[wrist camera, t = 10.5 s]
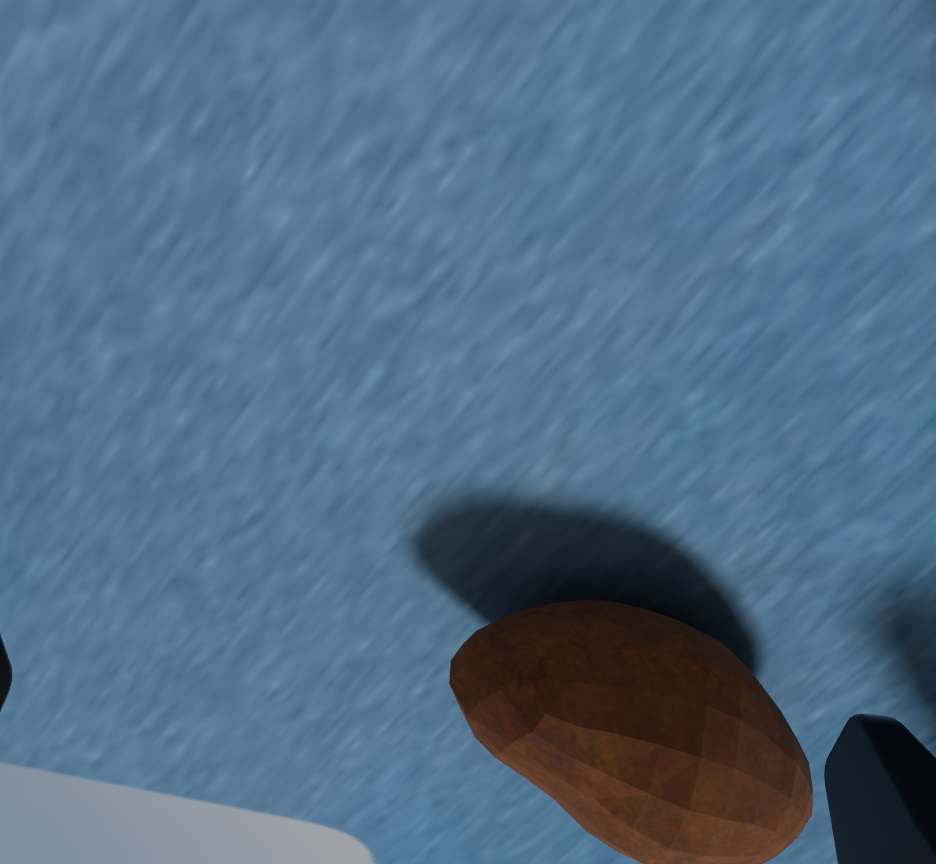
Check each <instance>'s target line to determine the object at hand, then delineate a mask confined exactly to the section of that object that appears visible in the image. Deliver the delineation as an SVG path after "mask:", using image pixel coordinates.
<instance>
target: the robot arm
mask: <svg viewBox="0 0 936 864" xmlns="http://www.w3.org/2000/svg"><path fill="white" fill-rule="evenodd" d="M11 682H12V667H11V664H10V661H9V658H8V655H7V652H6V649H5V646H4V643H3V640H2V637H1V635H0V711H1V709H2V707H3V704H4V702H5V700H6V697H7V695H8V693H9V690H10V686H11ZM824 778H825V787H826V793H827V799H828V805H829V811H830V817H831V823H832V829H833V836H834V842H835V848H836V854H837V860H838V864H936V758H935V757H934V756H933V755H932V754H931V753H930V752H929V751H928V750H927V749H926V748H925V747H924V746H923V744H922V743H921V742H920V741H919V740H918V739H917V738H916V737H915V736H914V735H913V734H912V733H911V732H910V731H909V730H908V729H907V728H906V727H905V726H904V725H903V724H902V723H900V722H899V721H897V720H896V719H894V718H891V717H887V716H878V715H869V714H855V715H854V716H852V717H850V718H849V720H848V721H847V723H846V725H845V727H844V729H843V730H842V732H841V734H840V736H839V738H838V739H837V741H836V743H835V745H834V747H833V749H832V750H831V752H830V754H829V756H828V758H827V761H826V765H825V772H824Z"/></svg>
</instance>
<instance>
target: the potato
mask: <svg viewBox="0 0 936 864" xmlns="http://www.w3.org/2000/svg"><path fill="white" fill-rule="evenodd" d="M449 684H450V686H451V688H452V690H453V693H454V695H455V697H456V700H457V702H458V704H459V706H460V708H461V710H462V712H463V714H464V716H465V718H466V720H467V722H468V724H469V726H470V728H471V730H472V732H473V734H474V736H475V738H476V739H477V740H478V741H479V742H480V743H481V744H482V745H483V746H484V747H485V748H486V749H487V750H488V751H489V752H490V753H491V754H492V755H493V756H494V757H495V758H497V759H498V760H500V761H501V762H503V763H504V764H506V765H507V766H509V767H510V768H512V769H513V770H515V771H516V772H517V773H519V774H520V775H522V776H523V777H525V778H526V779H528V780H529V781H530V782H532V783H533V784H534V785H536V786H537V787H538V788H540V789H541V790H542V791H543V792H545V793H546V794H547V795H549V796H550V797H551V798H553V799H554V800H555V801H557V802H558V803H559V804H560V805H561V806H562V807H563V808H564V809H565V810H566V811H567V812H568V813H569V814H570V815H571V816H572V817H573V818H574V819H575V820H576V821H577V822H578V823H579V824H580V825H581V826H582V827H583V828H584V829H585V830H586V831H587V832H588V833H590V834H591V835H593V836H594V837H596V838H597V839H599V840H600V841H602V842H603V843H605V844H606V845H608V846H609V847H611V848H612V849H614V850H615V851H617V852H619V853H621V854H623V855H625V856H627V857H630V858H632V859H634V860H636V861H638V862H641V863H643V864H763V863H765V862H767V861H769V860H770V859H772V858H774V857H776V856H778V855H779V854H780V853H781V852H782V851H783V850H784V849H785V848H787V847H788V846H789V845H790V844H791V843H792V842H793V841H794V840H795V839H797V838H798V836H799V834H800V833H801V831H802V830H803V828H804V826H805V825H806V823H807V822H808V820H809V819H810V817H811V815H812V802H813V788H812V781H811V774H810V767H809V762H808V760H807V758H806V756H805V754H804V752H803V750H802V748H801V746H800V744H799V742H798V740H797V738H796V736H795V735H794V733H793V731H792V729H791V728H790V726H789V724H788V723H787V721H786V719H785V717H784V716H783V714H782V712H781V711H780V709H779V708H778V707H777V705H776V704H775V703H774V701H773V700H772V699H771V697H770V696H769V695H768V693H767V692H766V691H765V689H764V688H763V687H762V685H761V684H760V683H759V681H758V680H757V679H756V678H755V676H754V675H753V674H752V673H751V672H750V670H749V669H748V668H747V667H746V666H745V665H744V664H743V663H742V662H741V661H740V660H739V659H738V658H737V657H736V656H735V655H734V654H733V653H732V652H731V651H730V650H729V649H728V648H727V647H726V646H724V645H723V644H722V643H721V642H720V641H719V640H717V639H715V638H713V637H711V636H709V635H707V634H705V633H703V632H701V631H699V630H697V629H695V628H693V627H691V626H689V625H687V624H685V623H683V622H681V621H679V620H677V619H674V618H671V617H668V616H665V615H663V614H660V613H657V612H654V611H651V610H648V609H645V608H642V607H637V606H632V605H627V604H622V603H617V602H613V601H592V600H573V601H566V602H559V603H552V604H545V605H541V606H537V607H533V608H530V609H526V610H523V611H519V612H516V613H513V614H511V615H509V616H506V617H504V618H501V619H499V620H497V621H495V622H493V623H491V624H489V625H487V626H485V627H483V628H481V629H479V630H477V631H476V632H475V633H474V634H473V635H472V636H471V637H470V638H469V639H468V640H467V641H465V642H464V643H463V645H462V646H461V647H460V649H459V650H458V651H457V653H456V654H455V656H454V657H453V658H452V660H451V667H450V681H449Z"/></svg>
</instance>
